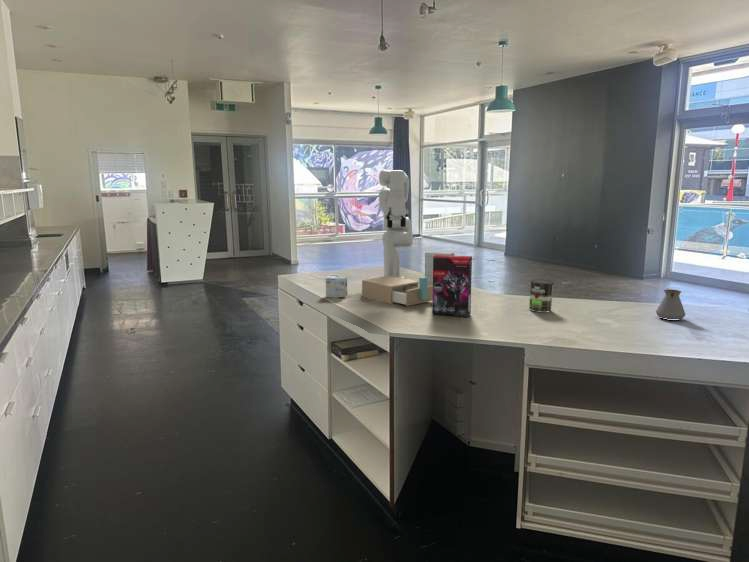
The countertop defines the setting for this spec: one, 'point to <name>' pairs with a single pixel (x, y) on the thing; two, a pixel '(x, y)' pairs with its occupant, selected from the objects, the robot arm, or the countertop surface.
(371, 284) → the sleeve
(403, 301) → the drawer with teal handle
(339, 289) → the light bulb box
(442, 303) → the graphics card box
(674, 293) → the coffee pot
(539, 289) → the coffee can
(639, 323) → the countertop surface
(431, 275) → the hard drive box
